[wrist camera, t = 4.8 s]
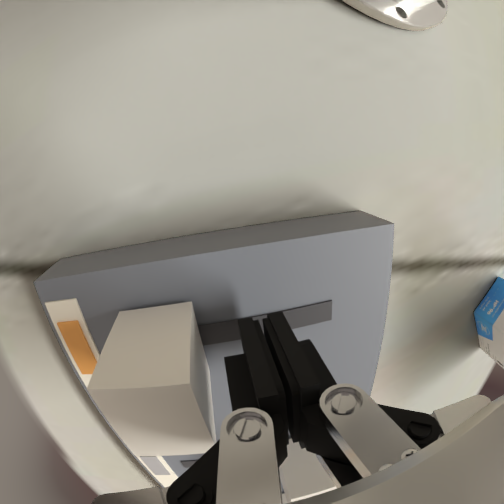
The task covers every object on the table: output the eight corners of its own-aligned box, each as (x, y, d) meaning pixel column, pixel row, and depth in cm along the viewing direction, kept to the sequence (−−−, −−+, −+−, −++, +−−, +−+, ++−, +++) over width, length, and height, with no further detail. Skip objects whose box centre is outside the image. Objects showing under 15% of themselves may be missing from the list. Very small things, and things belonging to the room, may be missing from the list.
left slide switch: (119, 311, 10) (86, 389, 6) (191, 301, 10) (189, 383, 6) (146, 377, 11) (134, 455, 7) (209, 370, 12) (217, 451, 7)
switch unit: (60, 258, 12) (31, 283, 9) (360, 210, 14) (396, 224, 11) (192, 495, 22) (194, 517, 19) (330, 470, 24) (339, 490, 21)
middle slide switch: (273, 442, 14) (290, 499, 10) (319, 430, 15) (343, 483, 11) (276, 464, 16) (291, 513, 11) (316, 454, 16) (335, 500, 12)
